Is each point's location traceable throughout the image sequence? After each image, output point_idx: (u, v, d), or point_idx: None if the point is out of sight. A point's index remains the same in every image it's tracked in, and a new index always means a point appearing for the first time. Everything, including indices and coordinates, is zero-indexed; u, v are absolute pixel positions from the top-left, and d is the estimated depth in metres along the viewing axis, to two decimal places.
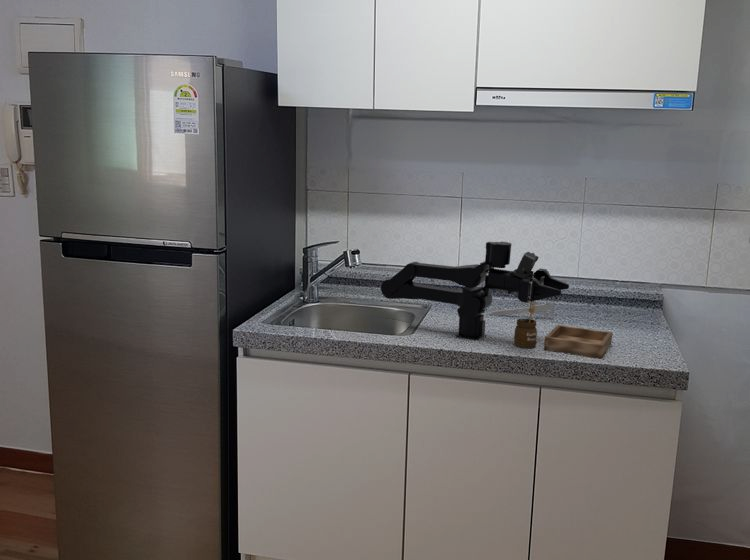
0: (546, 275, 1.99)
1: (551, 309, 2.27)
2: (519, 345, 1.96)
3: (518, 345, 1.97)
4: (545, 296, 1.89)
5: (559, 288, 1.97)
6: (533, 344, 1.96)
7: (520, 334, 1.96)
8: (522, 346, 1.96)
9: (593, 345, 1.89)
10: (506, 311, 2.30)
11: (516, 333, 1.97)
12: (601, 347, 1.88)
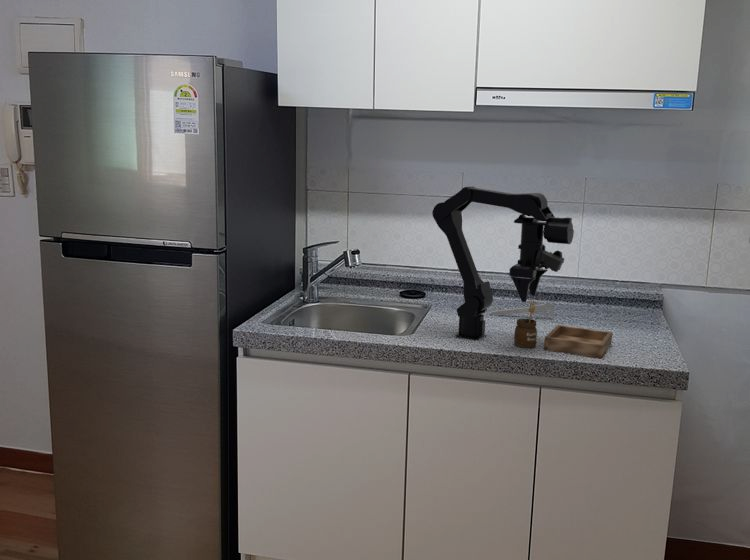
0: (542, 273, 1.98)
1: (551, 309, 2.27)
2: (519, 345, 1.96)
3: (518, 345, 1.97)
4: (517, 288, 1.91)
5: (530, 286, 2.00)
6: (533, 344, 1.96)
7: (520, 334, 1.96)
8: (522, 346, 1.96)
9: (593, 345, 1.89)
10: (506, 311, 2.30)
11: (516, 333, 1.97)
12: (601, 347, 1.88)
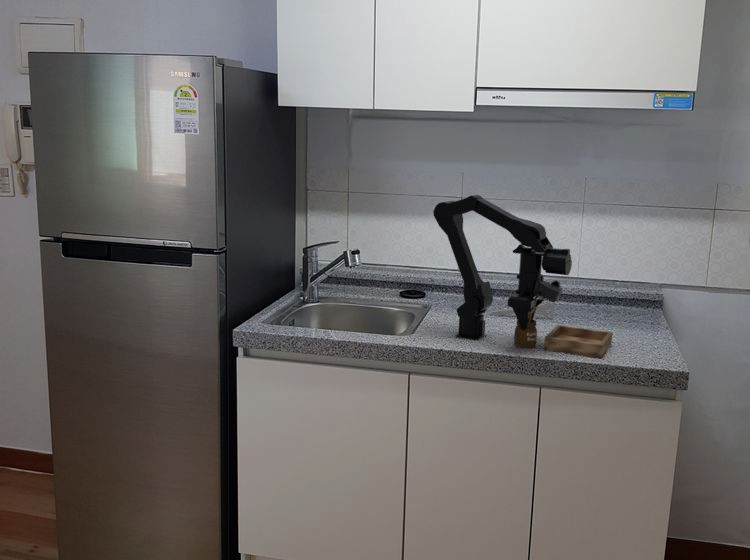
0: (538, 303, 1.98)
1: (551, 309, 2.27)
2: (519, 345, 1.96)
3: (518, 345, 1.97)
4: (517, 316, 1.94)
5: None
6: (533, 344, 1.96)
7: (520, 334, 1.96)
8: (522, 346, 1.96)
9: (593, 345, 1.89)
10: (506, 311, 2.30)
11: (516, 333, 1.97)
12: (601, 347, 1.88)
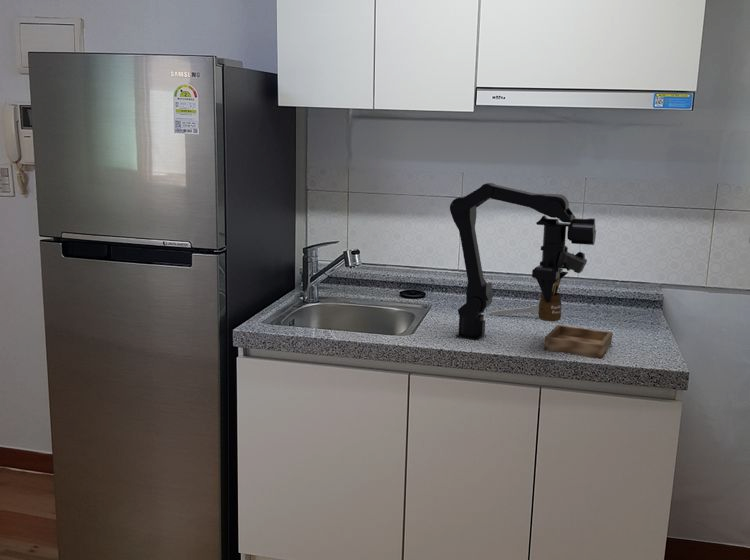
0: (562, 275, 1.96)
1: None
2: (544, 318, 1.95)
3: (543, 318, 1.95)
4: (542, 288, 1.92)
5: None
6: (558, 317, 1.94)
7: (544, 307, 1.94)
8: (547, 319, 1.94)
9: (593, 345, 1.89)
10: (506, 311, 2.30)
11: (540, 306, 1.95)
12: (601, 347, 1.88)
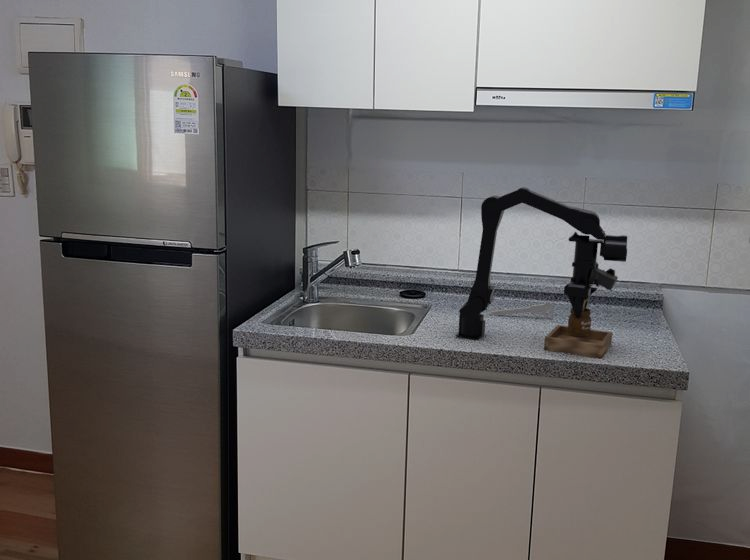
0: (592, 291, 1.97)
1: (550, 309, 2.27)
2: (573, 334, 1.95)
3: (572, 334, 1.96)
4: (572, 304, 1.93)
5: None
6: (587, 333, 1.95)
7: (574, 323, 1.95)
8: (576, 335, 1.95)
9: (593, 345, 1.89)
10: (505, 311, 2.30)
11: (570, 322, 1.96)
12: (601, 347, 1.88)
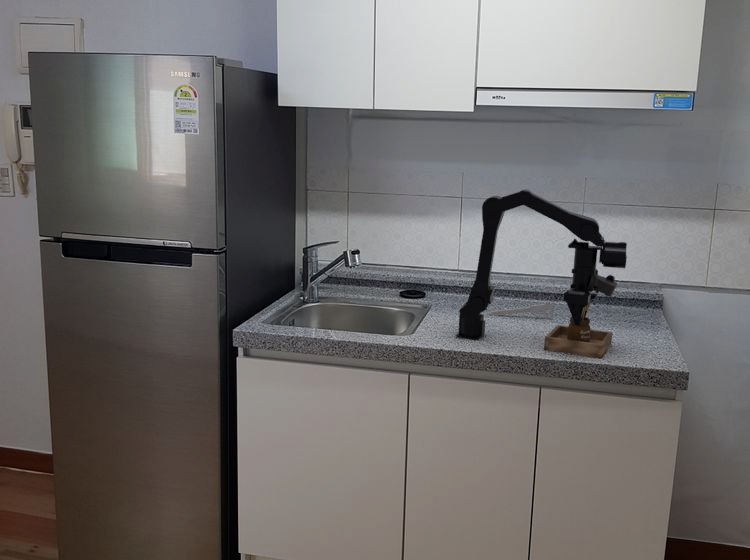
0: (592, 297, 1.98)
1: (550, 309, 2.27)
2: None
3: None
4: (572, 312, 1.92)
5: None
6: None
7: (574, 332, 1.95)
8: None
9: (593, 345, 1.89)
10: (505, 311, 2.30)
11: (569, 331, 1.96)
12: (601, 347, 1.88)
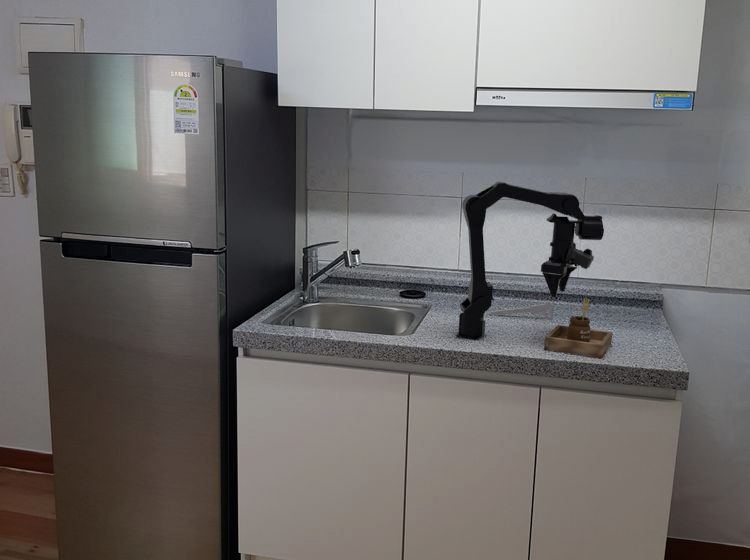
0: (572, 270, 2.07)
1: (550, 309, 2.27)
2: None
3: None
4: (548, 283, 1.99)
5: (559, 282, 2.08)
6: None
7: (574, 332, 1.95)
8: None
9: (593, 345, 1.89)
10: (505, 311, 2.30)
11: (569, 331, 1.96)
12: (601, 347, 1.88)
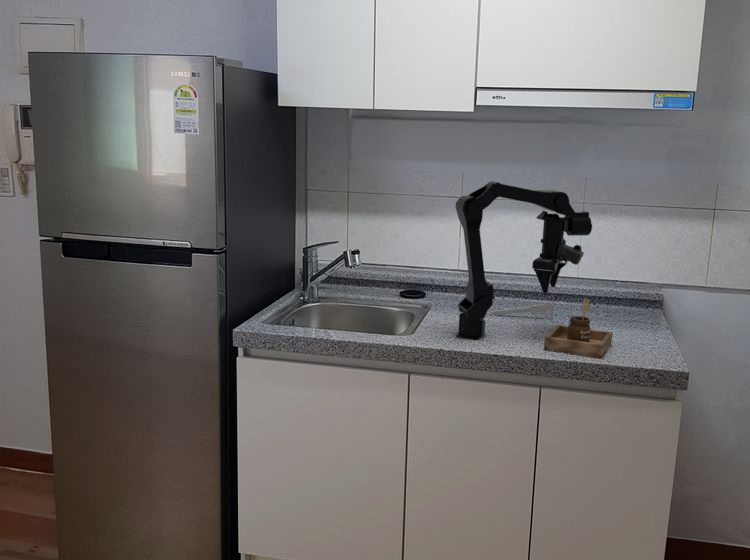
0: (562, 265, 2.11)
1: (550, 309, 2.27)
2: None
3: None
4: (540, 280, 2.03)
5: (550, 278, 2.12)
6: None
7: (574, 332, 1.95)
8: None
9: (593, 345, 1.89)
10: (505, 311, 2.30)
11: (569, 331, 1.96)
12: (601, 347, 1.88)
